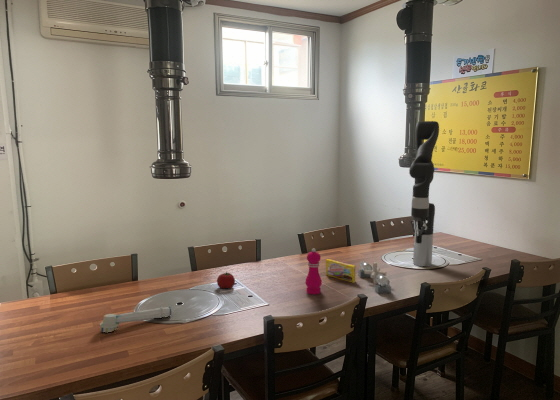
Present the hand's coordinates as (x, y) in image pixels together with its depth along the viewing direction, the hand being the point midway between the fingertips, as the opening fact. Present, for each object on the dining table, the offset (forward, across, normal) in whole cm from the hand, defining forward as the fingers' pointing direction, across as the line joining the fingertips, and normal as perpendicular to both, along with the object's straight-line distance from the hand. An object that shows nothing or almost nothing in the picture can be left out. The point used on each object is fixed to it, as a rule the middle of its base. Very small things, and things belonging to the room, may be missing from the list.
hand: (418, 242), depth 189 cm
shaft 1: (+19, +10, +22) cm, 30 cm away
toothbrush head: (+18, -21, +124) cm, 127 cm away
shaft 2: (+18, -9, +21) cm, 30 cm away
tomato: (+18, +10, +90) cm, 92 cm away
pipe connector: (+19, +1, +20) cm, 28 cm away
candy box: (+19, +11, +34) cm, 41 cm away
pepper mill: (+19, -3, +51) cm, 55 cm away
